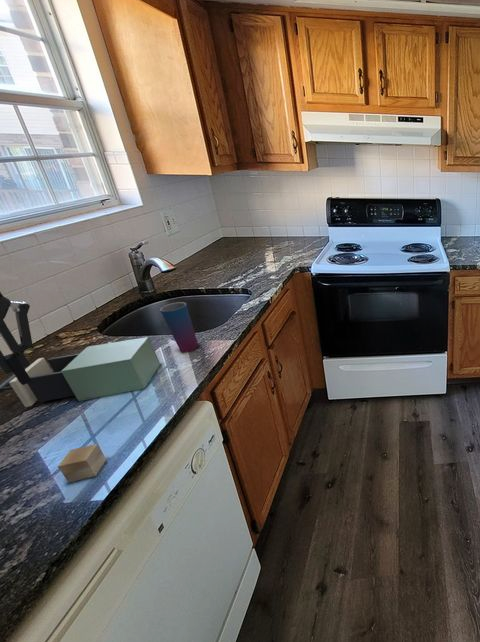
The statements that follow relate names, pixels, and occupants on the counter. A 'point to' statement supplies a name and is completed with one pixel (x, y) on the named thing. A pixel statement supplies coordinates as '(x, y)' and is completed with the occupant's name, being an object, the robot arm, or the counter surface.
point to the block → (82, 463)
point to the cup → (180, 325)
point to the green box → (112, 368)
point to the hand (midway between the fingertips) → (25, 381)
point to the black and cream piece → (42, 381)
